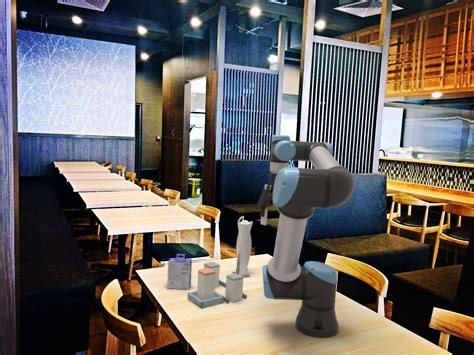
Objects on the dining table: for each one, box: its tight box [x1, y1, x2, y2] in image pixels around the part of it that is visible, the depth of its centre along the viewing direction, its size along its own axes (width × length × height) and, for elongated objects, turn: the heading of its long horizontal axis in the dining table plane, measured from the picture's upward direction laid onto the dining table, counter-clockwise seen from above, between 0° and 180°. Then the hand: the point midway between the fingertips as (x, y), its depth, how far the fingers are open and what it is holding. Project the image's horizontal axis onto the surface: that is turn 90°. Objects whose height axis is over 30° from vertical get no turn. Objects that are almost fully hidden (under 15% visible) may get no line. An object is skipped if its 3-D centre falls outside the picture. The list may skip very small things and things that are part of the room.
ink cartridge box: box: [166, 253, 193, 290], centre depth 178 cm, size 10×6×14 cm, turn 89°
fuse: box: [196, 268, 216, 301], centre depth 165 cm, size 5×5×12 cm
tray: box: [187, 290, 225, 309], centre depth 165 cm, size 11×11×2 cm
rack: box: [203, 261, 248, 305], centre depth 175 cm, size 22×10×10 cm, turn 37°
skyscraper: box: [231, 215, 253, 278], centre depth 197 cm, size 8×8×28 cm
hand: (275, 223), depth 170 cm, fingers open, 13 cm apart
